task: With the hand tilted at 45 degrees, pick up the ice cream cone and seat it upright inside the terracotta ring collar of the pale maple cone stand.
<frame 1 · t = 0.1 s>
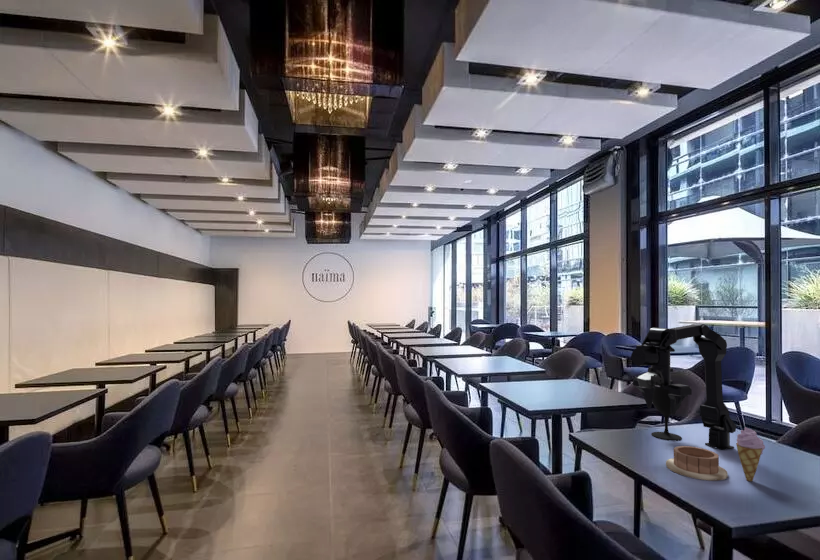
hand: (660, 411, 154), 15 cm above the table, tool pointing down, fingers open, 9 cm apart
cone stand: (695, 470, 140), on the table
ice cream cone: (751, 481, 132), on the table
wine glass: (666, 437, 175), on the table
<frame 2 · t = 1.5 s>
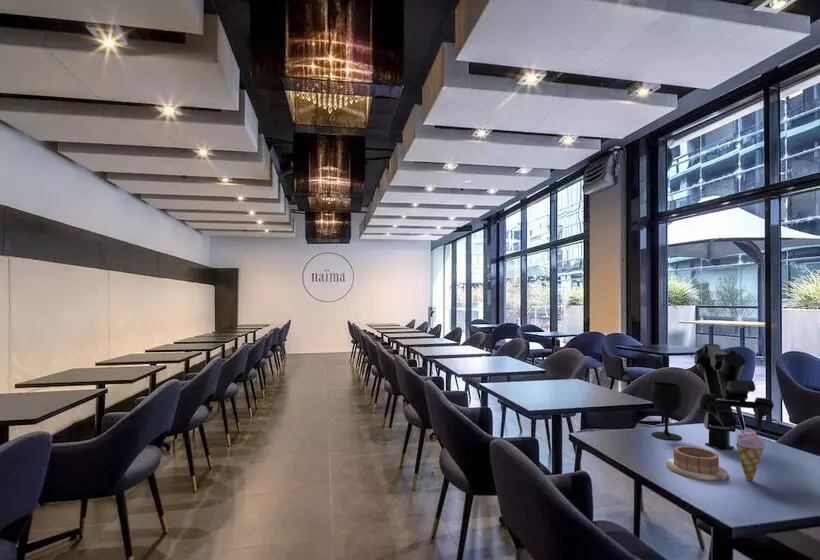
hand: (741, 427, 140), 13 cm above the table, tool tilted 45°, fingers open, 9 cm apart
nothing on the table moved.
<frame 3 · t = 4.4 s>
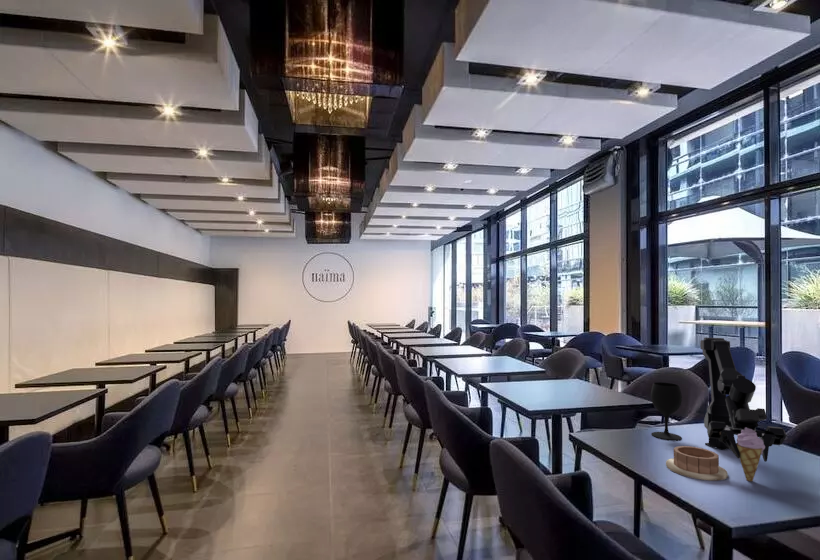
hand: (752, 459, 131), 7 cm above the table, tool tilted 45°, fingers closed on ice cream cone, 6 cm apart
ice cream cone: (751, 481, 132), on the table, touching gripper
everything else where it was.
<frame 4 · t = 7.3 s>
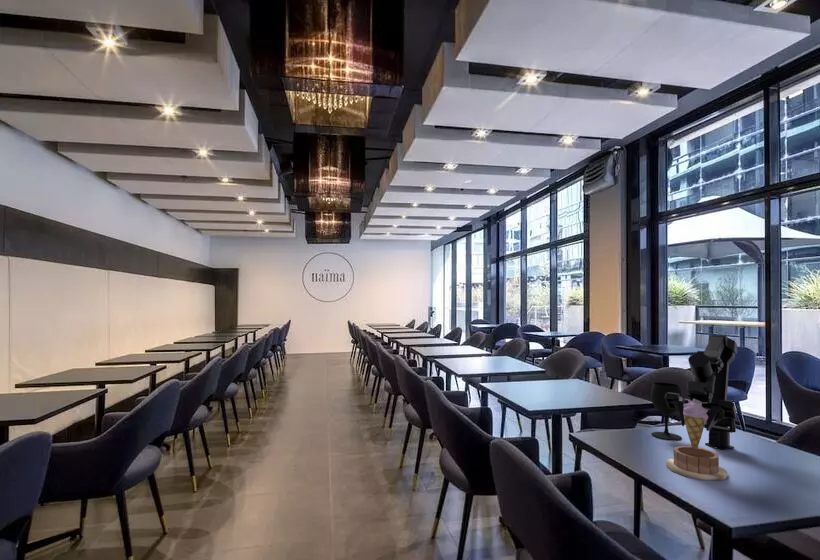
hand: (694, 427, 139), 13 cm above the table, tool tilted 45°, fingers closed on ice cream cone, 6 cm apart
ice cream cone: (696, 449, 140), point 6 cm above the table, touching gripper
everything else where it was.
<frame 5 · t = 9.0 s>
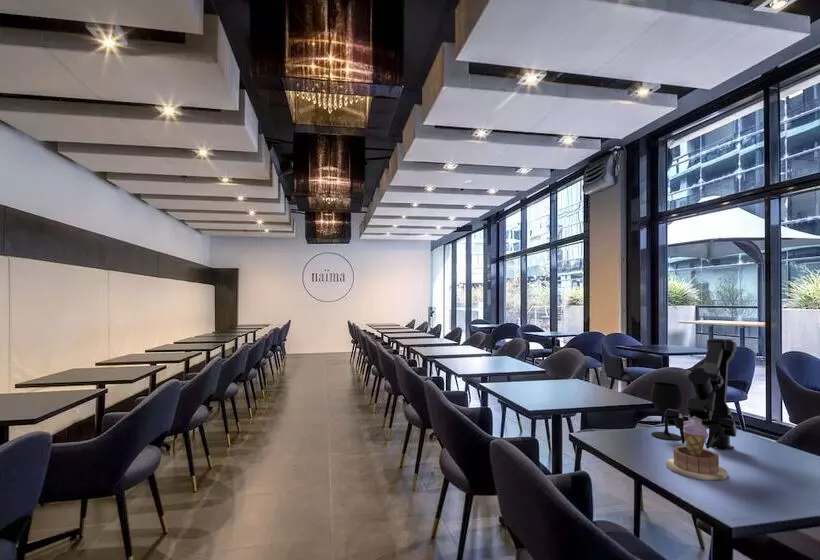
hand: (694, 445, 139), 8 cm above the table, tool tilted 45°, fingers closed on ice cream cone, 6 cm apart
ice cream cone: (696, 466, 140), point 1 cm above the table, touching gripper
everything else where it was.
when the fingers open (8 cm above the table, at t = 10.2 s): ice cream cone stays where it is, resting on cone stand.
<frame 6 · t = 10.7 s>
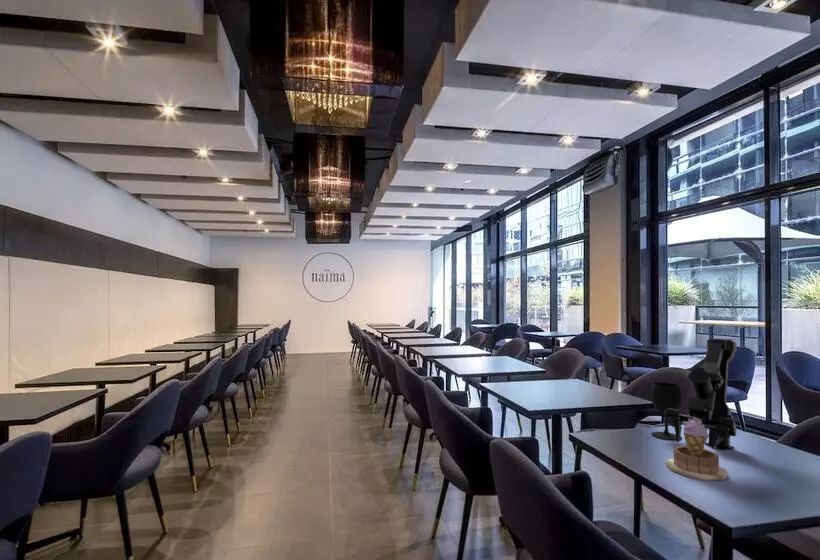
hand: (694, 444, 139), 8 cm above the table, tool tilted 45°, fingers open, 9 cm apart
ice cream cone: (696, 467, 140), point 1 cm above the table, touching cone stand
everything else where it was.
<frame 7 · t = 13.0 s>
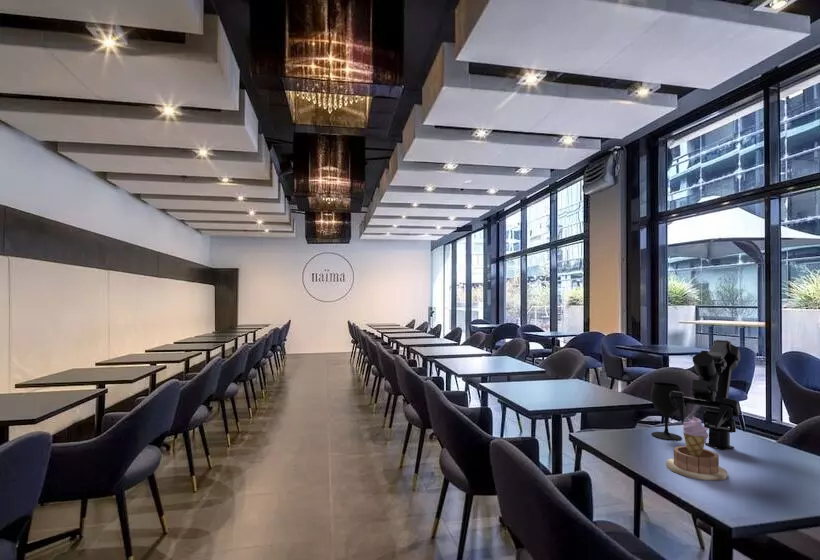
hand: (698, 425, 143), 13 cm above the table, tool tilted 45°, fingers open, 9 cm apart
nothing on the table moved.
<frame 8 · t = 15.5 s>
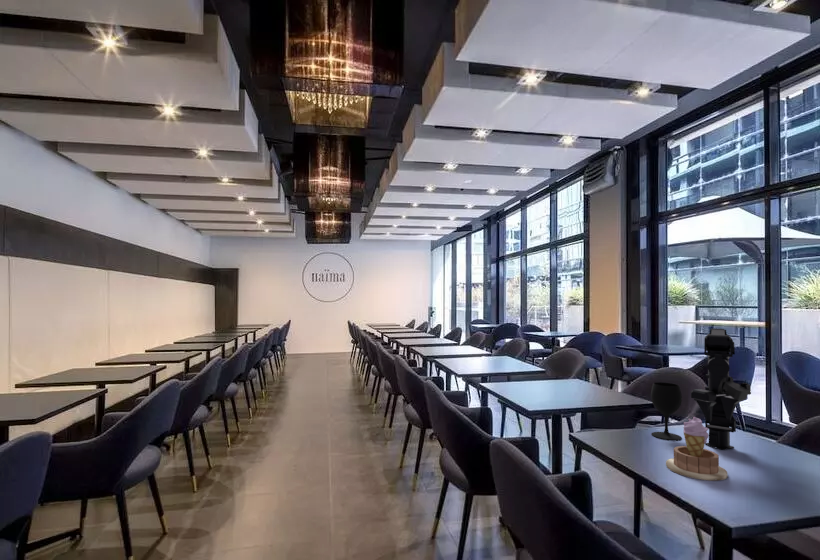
hand: (719, 420, 150), 13 cm above the table, tool pointing down, fingers open, 9 cm apart
nothing on the table moved.
at the end: ice cream cone 0.3 cm off-centre on the cone stand, point 0.8 cm above the cone stand's base; ice cream cone tilted 1°; the gripper is holding nothing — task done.
